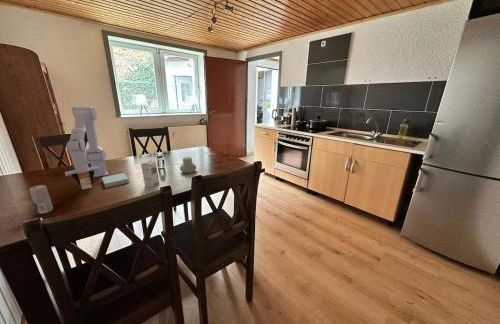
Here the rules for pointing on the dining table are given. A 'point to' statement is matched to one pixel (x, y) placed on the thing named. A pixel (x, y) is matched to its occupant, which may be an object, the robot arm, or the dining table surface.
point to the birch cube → (85, 183)
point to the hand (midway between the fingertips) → (86, 184)
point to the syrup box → (150, 173)
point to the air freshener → (187, 165)
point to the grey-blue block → (115, 180)
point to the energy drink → (41, 199)
